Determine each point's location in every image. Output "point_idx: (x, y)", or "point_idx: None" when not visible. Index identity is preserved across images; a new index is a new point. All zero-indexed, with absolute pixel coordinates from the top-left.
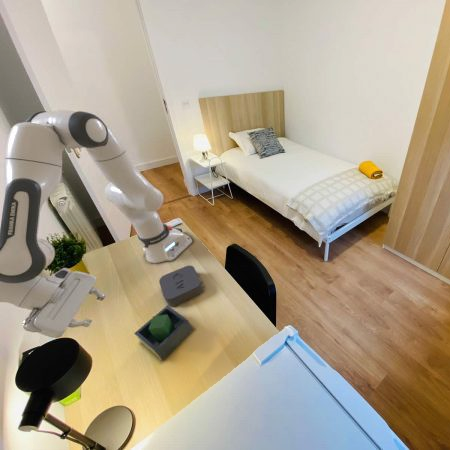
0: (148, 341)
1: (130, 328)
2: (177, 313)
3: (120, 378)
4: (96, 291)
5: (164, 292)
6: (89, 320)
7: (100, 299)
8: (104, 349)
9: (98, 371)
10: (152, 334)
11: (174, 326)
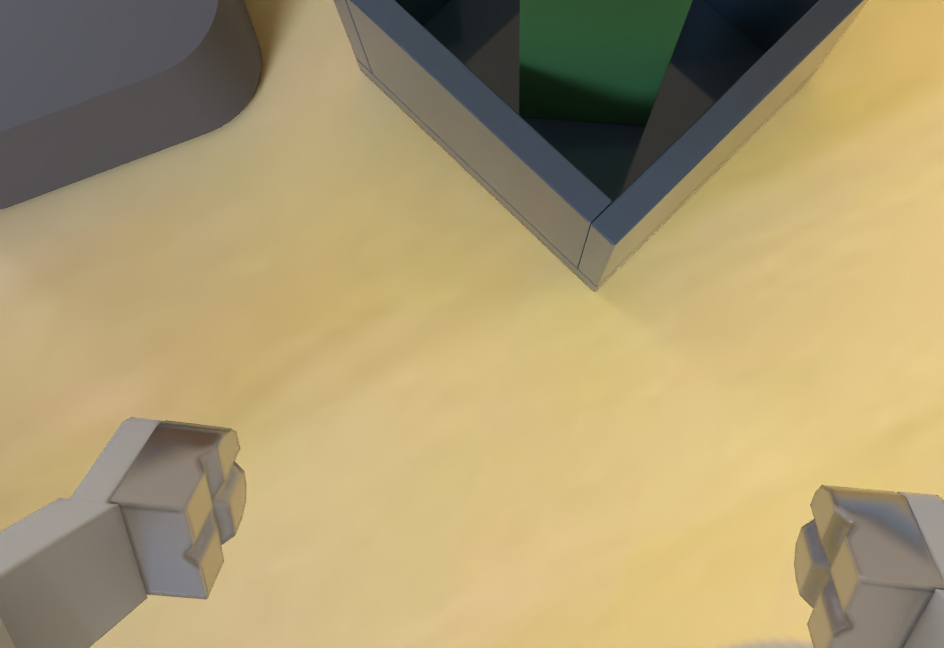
0: (750, 73)
1: (408, 438)
2: None
3: (908, 391)
4: (16, 580)
5: (103, 75)
6: (863, 507)
7: (226, 521)
8: (588, 631)
9: (807, 614)
10: (673, 50)
11: (509, 12)
